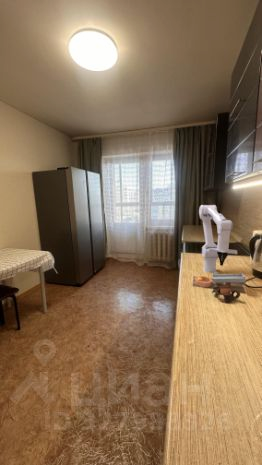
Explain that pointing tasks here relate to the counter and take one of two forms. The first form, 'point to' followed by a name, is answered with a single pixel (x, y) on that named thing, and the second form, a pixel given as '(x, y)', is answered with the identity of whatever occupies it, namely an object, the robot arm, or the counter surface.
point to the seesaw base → (231, 285)
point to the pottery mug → (226, 293)
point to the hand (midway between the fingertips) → (221, 265)
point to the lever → (229, 278)
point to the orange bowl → (205, 283)
